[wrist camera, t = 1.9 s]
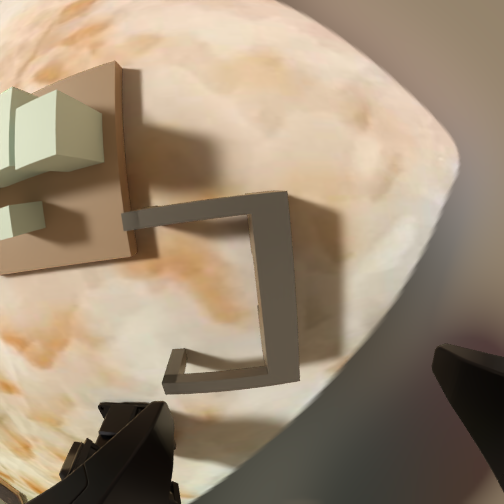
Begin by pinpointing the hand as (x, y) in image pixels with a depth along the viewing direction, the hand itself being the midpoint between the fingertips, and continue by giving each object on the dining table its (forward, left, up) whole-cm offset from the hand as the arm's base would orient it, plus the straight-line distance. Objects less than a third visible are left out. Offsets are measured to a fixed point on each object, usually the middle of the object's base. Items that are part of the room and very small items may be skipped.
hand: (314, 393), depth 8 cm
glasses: (0, +3, -13) cm, 13 cm away
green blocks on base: (+10, +17, -13) cm, 23 cm away
